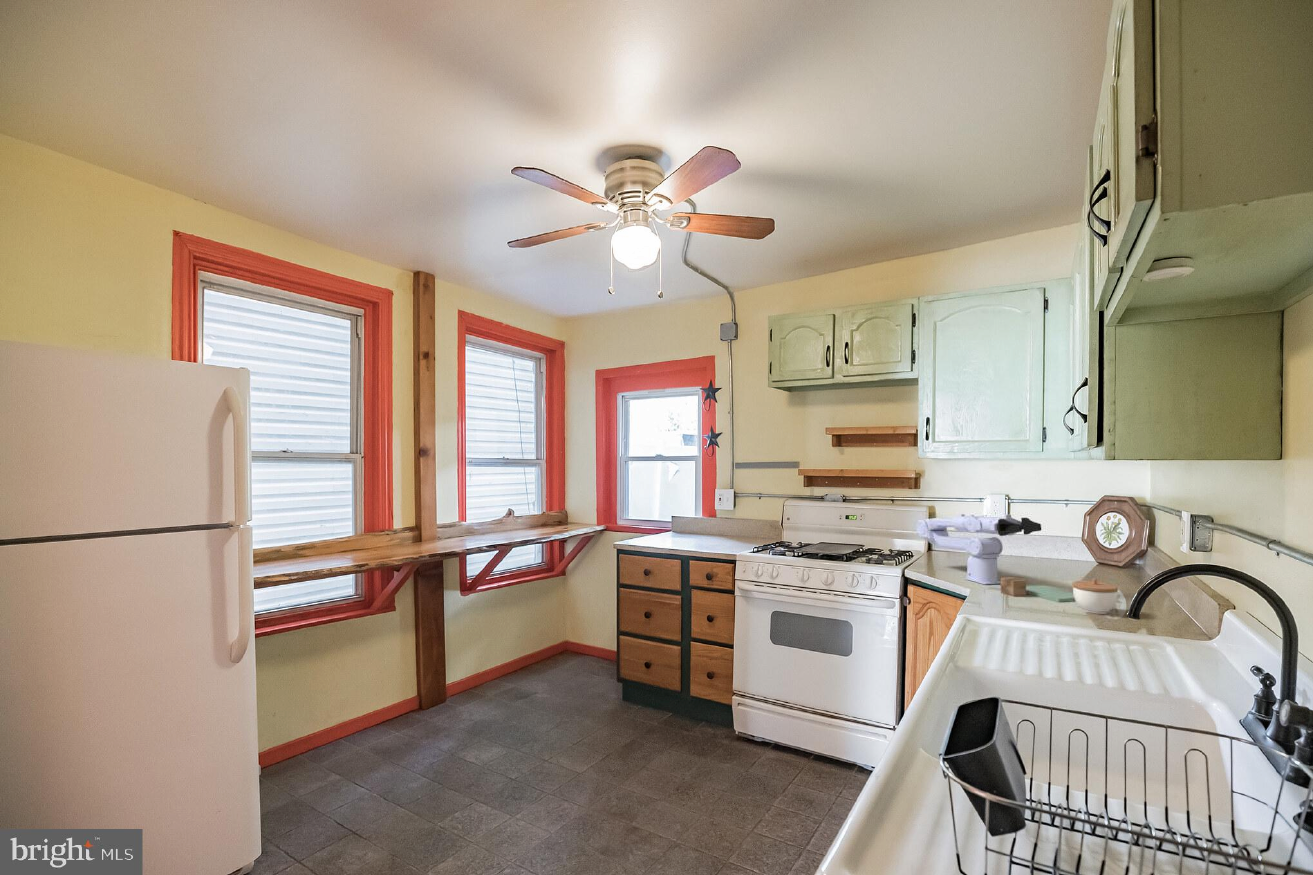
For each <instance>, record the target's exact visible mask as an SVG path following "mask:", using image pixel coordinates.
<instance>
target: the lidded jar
mask: <svg viewBox="0 0 1313 875" xmlns="http://www.w3.org/2000/svg"><path fill="white" fill-rule="evenodd" d="M1118 589H1119V588H1118V586H1116V585H1115V584H1112V583H1111V584H1110V583H1107V582H1101V581H1098V579H1097V578H1092V580H1091V581H1090V580H1075V581H1073V582H1072V592H1073V595H1074V599H1075V601H1074V602H1075V603H1076V604H1077V605H1078V606H1079V608H1081V609H1082V611H1083V612H1086V613H1088V614H1095V615H1108V614H1109V613H1110V612H1111V611H1112V610H1113V609H1114V608H1115V606H1116V605H1117V600H1118Z"/></svg>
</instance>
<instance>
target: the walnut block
mask: <svg viewBox="0 0 1313 875" xmlns="http://www.w3.org/2000/svg"><path fill="white" fill-rule="evenodd" d="M1000 581H1001V584H1000V594H1004V595H1007V596H1011V597H1025V596H1027V593H1026V587H1027V580H1025V579H1023V578H1019V577H1014V576H1008V577H1000Z"/></svg>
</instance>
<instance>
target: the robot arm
mask: <svg viewBox="0 0 1313 875" xmlns="http://www.w3.org/2000/svg"><path fill="white" fill-rule="evenodd" d="M915 528H916V529H915V530H916V533H917V534H918V535H919V538H921V539H923V540H926V541H927V542H928V543H930V544H931V545H932V546H934V547H935V548H937V549H946V550H947V549H948V550H953V551H963V552H966V553H968V554H969V553H970V554H971V555H970V556H969V557H968V559H967V562H966V565H967V567H966V569H967V570H966V571H967V575H966V577H965V580H968V581H972V582H974V583H978V584H982V585H997V584H998V585H999V584H1000V585H1001V580H999V579H998V558H999V557H1000V555H1001V553H1002V552H1003V550H1004V549H1003V548H1004V547H1003V546H1004V545H1003V543H1002V541H1001V539H1000V538H998V537H995V536H993V537H982V538H981V537H978V538H977V537H973V538H968V537H958V536H949V533H948V528H954V530H955V531H958V532H965V533H968V532H969V533H970V534H974V533H985V534H993V535H994V534H995V535H999V536H1000V537H1004V536H1005V537H1006V536H1013V535H1015V534H1017V533H1021V532H1022V531H1023V535H1030V534H1031V533H1034V532H1040V531H1042V524H1041V523H1039V522H1036V521H1033V520H1031V519H1030V518H1028V517H1021V520H1018V519H1016V518H1013V517H1012V515H1011V514H1010V513H1009V514H1004V517H998V516H985V515H980V516H978V515H977V516H975V515H974V514H969V515H965V514H964V513H959V515H956V516H955V517H954V518H948V517H946V518H945V517H935V518H927V519H926V518H925V519H919V520H918V521H917V523H916V525H915Z"/></svg>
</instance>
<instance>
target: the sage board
mask: <svg viewBox="0 0 1313 875" xmlns="http://www.w3.org/2000/svg"><path fill="white" fill-rule="evenodd" d="M1027 594H1028V595H1031V596H1035V597H1039V598H1042V599H1046V600H1049V601H1053V602H1056V603H1064V602H1065V603H1067V602H1076V601H1075V599H1074V595H1073V591H1068V590H1065V589H1061V588H1058V587H1057V588H1056V587H1053V586H1050V585H1046V584H1045V585H1032V586H1026V595H1027Z"/></svg>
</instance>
